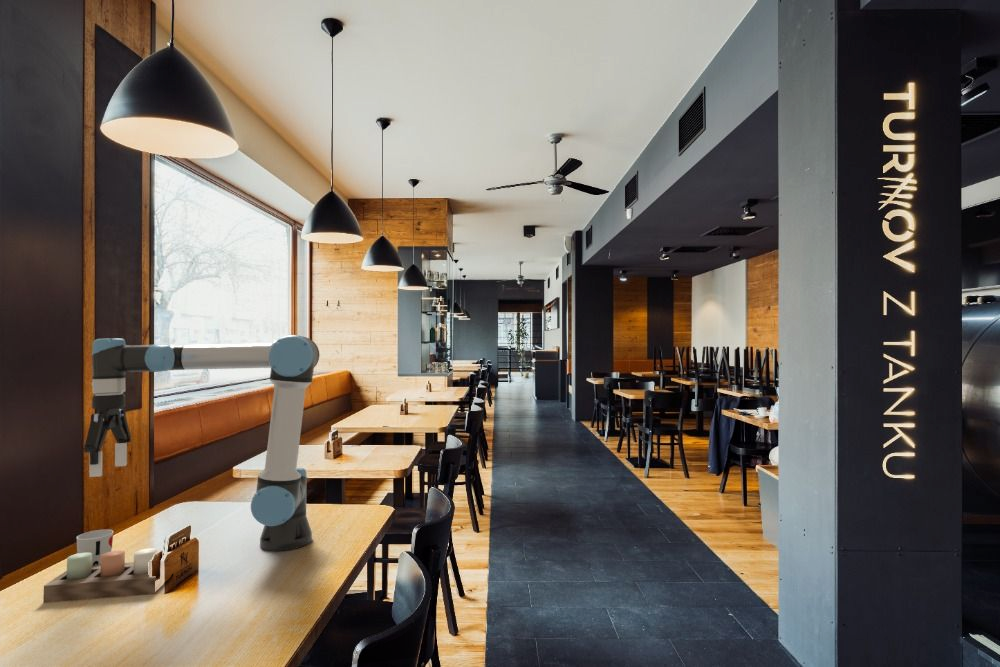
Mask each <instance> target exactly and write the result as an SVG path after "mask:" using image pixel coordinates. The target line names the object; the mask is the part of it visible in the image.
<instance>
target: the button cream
mask: <svg viewBox="0 0 1000 667" xmlns="http://www.w3.org/2000/svg"><path fill="white" fill-rule="evenodd" d="M156 552H157V553H158V549H157V548H153V547H151V548H143V549H139V550H137V551H135V552H134V553H133V562H134V573H133V574H134V575H136V574H148V562H149V561H150V560H151V559H152V557H153V555H154V554H155V553H156Z"/></svg>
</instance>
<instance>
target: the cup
mask: <svg viewBox="0 0 1000 667" xmlns="http://www.w3.org/2000/svg"><path fill="white" fill-rule="evenodd" d="M113 540H114V530H112V529H98V530H96V529H95V530H91V531H87V532H84V533H81V534H79V535H77V536H76V551H77V552H76V554H78V553H86V552H88V553H92V565H101V555H102V554H104V553H107V552H111V551H113V550H112V549H113Z"/></svg>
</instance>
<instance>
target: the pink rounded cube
mask: <svg viewBox="0 0 1000 667" xmlns="http://www.w3.org/2000/svg"><path fill="white" fill-rule="evenodd" d="M125 559H126V552H125V550H122V549H121V550H111V552H107V553H104V554H102V555H101V571H100V577H109V576H119V575H121V574H123V573H124V572H125V563H126V562H125V561H126V560H125Z"/></svg>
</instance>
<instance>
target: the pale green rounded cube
mask: <svg viewBox="0 0 1000 667" xmlns="http://www.w3.org/2000/svg"><path fill="white" fill-rule="evenodd" d="M66 571H67V580H68V579H81V578H86V577H88V576H90V575H91V574H92V553H88V552H86V553H78V554H77V553H76V554H75V553H74V554H71V555H69V556H67V557H66Z"/></svg>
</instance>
